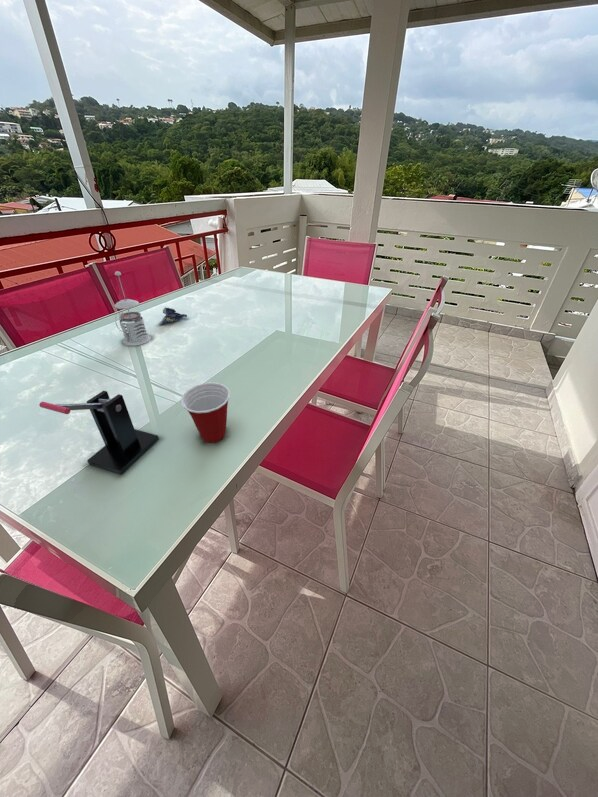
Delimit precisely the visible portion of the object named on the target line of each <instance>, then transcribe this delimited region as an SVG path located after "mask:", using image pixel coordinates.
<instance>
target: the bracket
mask: <svg viewBox="0 0 598 797" xmlns="http://www.w3.org/2000/svg"><path fill="white" fill-rule="evenodd" d="M98 399H111V400H109V401H108V402H107V403H105V404H104V405H102V407H103V410H104V412H101V411H98V410H97V409H89V411H90V413H91V416H92V418H93V420H94V422H95V424H96V427H97V429H98V431H99V434H100V436H101V438H102V441H103V444H104V446H102V447H101V448H100V449H99V450H98V451H96V452H95V453H94V454H93V455H92V456H90V457H89V458H88V459H87V460H86V462H87V463H88V465H90V466H93V467H96V468H100V469H102V470H106V471H109V472H112V473H114V474H117V475H124V474H125V472H127V471H128V469H129V468H131V466H132V465H134V464H135V463H136V462H137V461H138V460H139V459H140V458H141V457H142V456H143V455H144V454H145V453H146V452H147V451H148V450H150V448H152V447H153V445H155V444H156V442H158V441H159V434H158V435H157V434H153V433H150V432H146V431H143V430H139V429H136V428H135V427H134V424H133V420H132V418H131V416H130V412H129V410H128V407H127V404H126V402H125V399H124V396H123V395H122V394H120V393H118V394H117V395H115V396H114V397H112V398H110V395H109V393H108V391H107V390H102V391H100V392H99V393H97V394H96V395H94V396H93V397H91V398H89V399H88V400H87V401H86V403H98Z"/></svg>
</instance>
